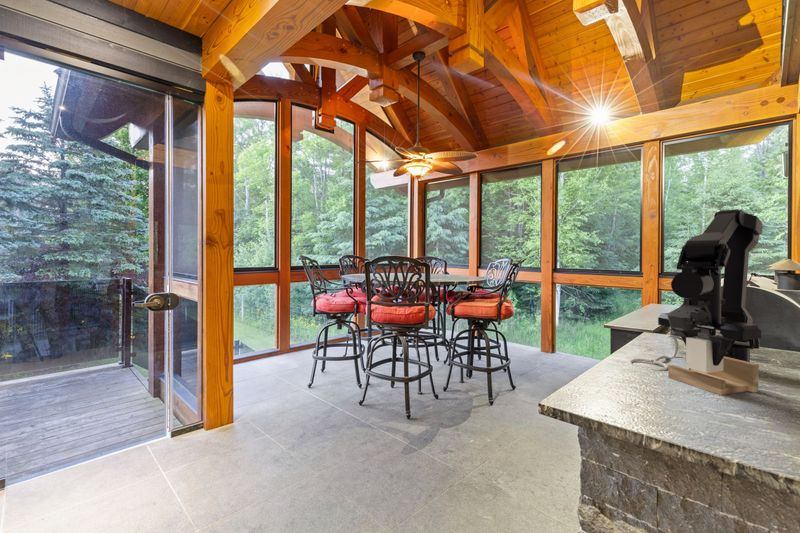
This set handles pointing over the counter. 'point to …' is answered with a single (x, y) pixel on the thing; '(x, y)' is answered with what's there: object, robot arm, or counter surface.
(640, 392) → the counter surface
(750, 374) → the board
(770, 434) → the counter surface
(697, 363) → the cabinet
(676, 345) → the hook
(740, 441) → the counter surface
